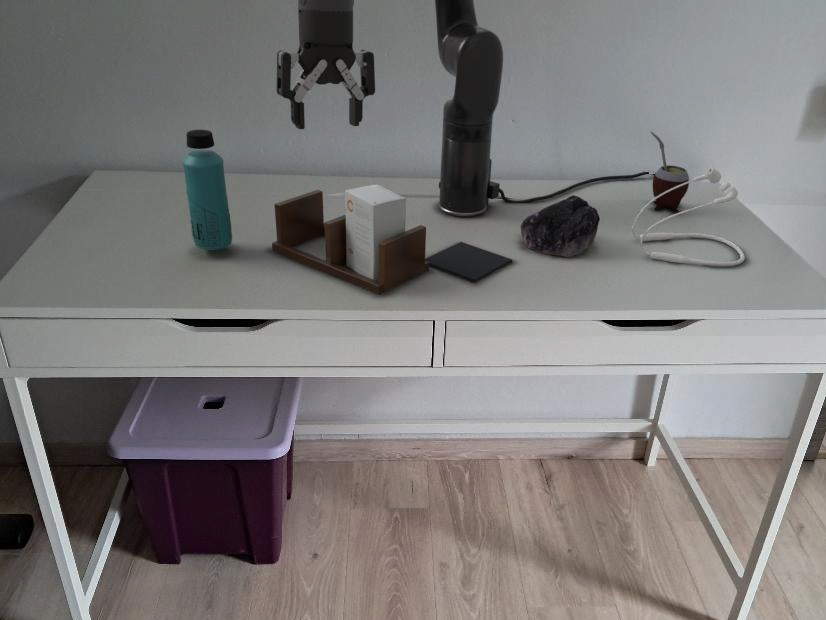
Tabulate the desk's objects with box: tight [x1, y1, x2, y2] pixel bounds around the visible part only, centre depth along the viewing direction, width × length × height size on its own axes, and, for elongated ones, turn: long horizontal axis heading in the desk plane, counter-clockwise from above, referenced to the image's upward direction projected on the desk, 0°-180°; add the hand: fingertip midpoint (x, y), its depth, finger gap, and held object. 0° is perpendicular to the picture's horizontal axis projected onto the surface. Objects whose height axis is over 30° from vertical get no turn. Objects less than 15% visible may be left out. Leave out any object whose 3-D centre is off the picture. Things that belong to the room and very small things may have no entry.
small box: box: [344, 183, 407, 282], centre depth 127 cm, size 8×6×13 cm
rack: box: [271, 189, 430, 296], centre depth 131 cm, size 12×24×8 cm, turn 52°
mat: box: [425, 241, 513, 284], centre depth 135 cm, size 11×11×1 cm
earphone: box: [631, 167, 746, 267], centre depth 142 cm, size 14×17×18 cm
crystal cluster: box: [520, 194, 601, 258], centre depth 141 cm, size 13×14×10 cm
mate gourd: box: [650, 131, 690, 214], centre depth 158 cm, size 8×8×15 cm
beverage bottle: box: [181, 129, 233, 251], centre depth 128 cm, size 6×7×20 cm
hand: (327, 126), depth 117 cm, fingers open, 8 cm apart
